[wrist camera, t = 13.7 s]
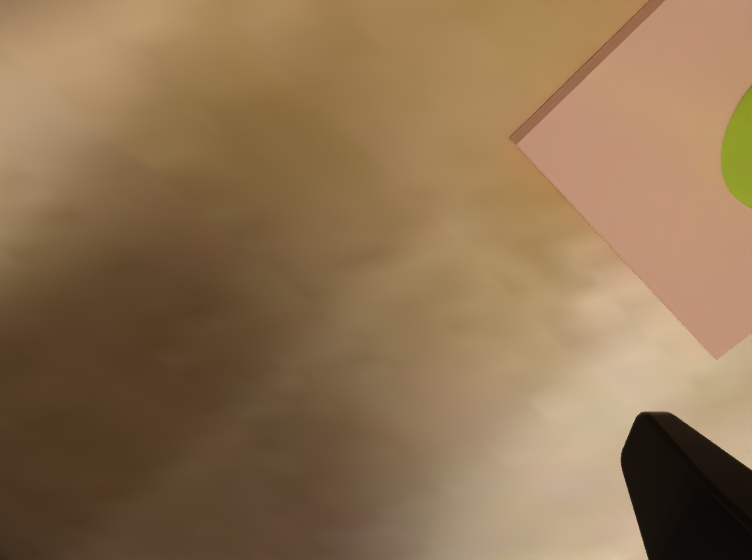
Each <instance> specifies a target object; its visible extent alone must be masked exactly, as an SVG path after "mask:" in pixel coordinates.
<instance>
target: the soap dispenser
mask: <svg viewBox="0 0 752 560" xmlns="http://www.w3.org/2000/svg"><path fill="white" fill-rule="evenodd" d="M721 169H722V174H723V178H724V181H725V184H726V186H727V187H728V189H729V191H730V192H731V194H732V195H733V196H734V197H735V198H736V199H737V200H739V201H740V202H741V203H743V204H744V205H746V206H747V207H749V208H751V209H752V86H751V87H750V88H749V90H748V91H747V92H746V94H745V95H744V96H743V98H742V99H741V101H740V102H739V104H738V106H737V107H736V109H735V111H734V113H733V115H732V117H731V119H730V122H729V124H728V127H727V129H726V132H725V136H724V139H723V144H722V150H721Z"/></svg>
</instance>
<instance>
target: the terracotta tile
mask: <svg viewBox="0 0 752 560" xmlns="http://www.w3.org/2000/svg"><path fill="white" fill-rule="evenodd" d="M751 86H752V0H650V1H649V2H648V3H647V4H646V5H645V6H644V7H643V8H642V9H641V10H640V11H639V12H638V13H637V14H636V15H635V16H634V17H633V18H632V19H631V20H630V21H629V22H628V23H627V24H626V25H625V26H624V27H623V28H621V29H620V30H619V31H618V32H617V33H616V34H615V35H614V36H613V37H612V38H611V39H610V40H609V41H608V42H607V43H606V44H605V45H604V46H603V47H602V48H601V49H600V50H599V51H598V52H597V53H596V54H595V55H594V56H593V57H592V58H591V59H590V60H589V61H588V62H587V63H586V64H585V65H584V66H583V67H582V68H581V69H580V70H579V71H578V72H576V73H575V74H574V75H573V76H572V77H571V78H570V79H569V80H568V81H567V82H566V83H565V84H564V85H563V86H562V87H561V88H560V89H559V90H558V91H557V92H556V93H555V94H554V95H553V96H552V97H551V98H550V99H549V100H548V101H547V102H546V103H545V104H544V105H543V106H542V107H541V108H540V109H539V110H538V111H537V112H536V113H535V114H534V115H533V116H531V117H530V118H529V119H528V120H527V121H526V122H525V123H524V124H523V125H522V126H521V127H520V128H519V129H518V130H517V131H516V132H515V133H514V134H513V135H512V136H511V137H510V138H509V139H510V140H511V141H512V142H513V143H514V144H515V145H516V146H517V147H518V148H519V149H520V151H521V152H522V153H523V154H524V155H525V156H526V157H527V158H528V159H529V160H530V161H531V162H532V163H533V164H534V166H535V167H536V168H537V169H538V170H539V171H540V172H541V173H542V174H543V175H544V176H545V177H546V178H547V179H548V181H549V182H550V183H551V184H552V185H553V186H554V187H555V188H556V189H557V190H558V191H559V192H560V193H561V194H562V196H563V197H564V198H565V199H566V200H567V201H568V202H569V203H570V204H571V205H572V206H573V207H574V208H575V210H576V211H577V212H578V213H579V214H580V215H581V216H582V217H583V218H584V219H585V220H586V221H587V222H588V223H589V225H590V226H591V227H592V228H593V229H594V230H595V231H596V232H597V233H598V234H599V235H600V236H601V237H602V238H603V240H604V241H605V242H606V243H607V244H608V245H609V246H610V247H611V248H612V249H613V250H614V251H615V252H616V253H617V255H618V256H619V257H620V258H621V259H622V260H623V261H624V262H625V263H626V264H627V265H628V266H629V267H630V268H631V270H632V271H633V272H634V273H635V274H636V275H637V276H638V277H639V278H640V279H641V280H642V281H643V282H644V284H645V285H646V286H647V287H648V288H649V289H650V290H651V291H652V292H653V293H654V294H655V295H656V296H657V297H658V299H659V300H660V301H661V302H662V303H663V304H664V305H665V306H666V307H667V308H668V309H669V310H670V311H671V312H672V314H673V315H674V316H675V317H676V318H677V319H678V320H679V321H680V322H681V323H682V324H683V325H684V326H685V327H686V329H687V330H688V331H689V332H690V333H691V334H692V335H693V336H694V337H695V338H696V339H697V340H698V341H699V343H700V344H701V345H702V346H703V347H704V348H705V349H706V350H707V351H708V352H709V353H710V354H711V355H712V356H713V357H714V358H715V359H716V360H717V359H719V358H720V357H721V356H723V355H724V354H725V353H726V352H728V351H729V350H730V349H732V348H733V347H734V346H735V345H737V344H738V343H739V342H741V341H742V340H743V339H744V338H746V337H747V336H748V335H750V334H751V333H752V209H751V208H749V207H747V206H746V205H744V204H743V203H741V202H740V201H739V200H737V199H736V198H735V197H734V196H733V195H732V194H731V192H730V191H729V189H728V187H727V186H726V184H725V181H724V178H723V174H722V169H721V150H722V144H723V139H724V136H725V132H726V129H727V127H728V124H729V122H730V119H731V117H732V115H733V113H734V111H735V109H736V107H737V106H738V104H739V102H740V101H741V99H742V98H743V96H744V95H745V94H746V92H747V91H748V90H749V88H750V87H751Z"/></svg>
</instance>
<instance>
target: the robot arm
mask: <svg viewBox="0 0 752 560" xmlns="http://www.w3.org/2000/svg"><path fill="white" fill-rule="evenodd" d="M621 467H622V471H623V475H624V478H625V482H626V485H627V488H628V492H629V495H630V499H631V502H632V505H633V509H634V512H635V516H636V519H637V522H638V526H639V529H640V533H641V536H642V540H643V543H644V546H645V550H646V553H647V556H648V559H649V560H752V470H751V469H749V468H748V467H746V466H745V465H744V464H742V463H741V462H739V461H738V460H737V459H735V458H734V457H732V456H731V455H730V454H728V453H727V452H725V451H724V450H723V449H721V448H720V447H718V446H717V445H716V444H714V443H713V442H711V441H710V440H709V439H707V438H706V437H704V436H703V435H702V434H700V433H699V432H697V431H696V430H695V429H693V428H692V427H690V426H689V425H688V424H686V423H685V422H683V421H682V420H680V419H679V418H678V417H676V416H675V415H673V414H672V413H669V412H641V413H640V414H639V415H638V416H637V417H636V419H635V421H634V423H633V425H632V428H631V430H630V433H629V435H628V437H627V440H626V442H625V445H624V447H623V449H622V453H621Z"/></svg>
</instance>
